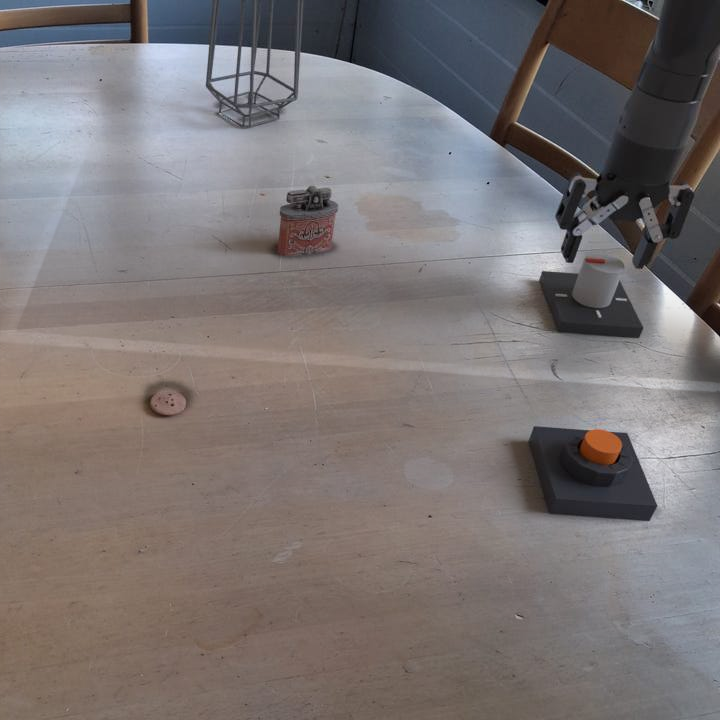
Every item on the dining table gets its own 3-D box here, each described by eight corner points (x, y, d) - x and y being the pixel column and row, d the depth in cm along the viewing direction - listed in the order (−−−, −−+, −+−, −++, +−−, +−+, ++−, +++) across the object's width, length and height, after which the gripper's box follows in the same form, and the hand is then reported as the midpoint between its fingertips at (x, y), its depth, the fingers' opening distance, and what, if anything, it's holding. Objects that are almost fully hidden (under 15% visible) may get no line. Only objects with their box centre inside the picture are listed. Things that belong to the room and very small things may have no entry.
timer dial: (605, 289, 116) (619, 251, 112) (614, 309, 112) (630, 271, 108) (567, 286, 115) (581, 249, 112) (576, 306, 112) (590, 269, 108)
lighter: (324, 248, 125) (334, 179, 118) (335, 260, 123) (345, 190, 116) (271, 256, 123) (277, 186, 116) (281, 268, 120) (288, 198, 114)
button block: (620, 448, 97) (633, 419, 95) (649, 521, 89) (664, 492, 87) (528, 441, 97) (538, 412, 94) (549, 514, 89) (561, 485, 86)
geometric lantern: (260, 94, 165) (276, -134, 141) (312, 125, 156) (339, -113, 132) (187, 109, 158) (190, -129, 134) (237, 143, 149) (251, -106, 125)
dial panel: (610, 296, 120) (618, 275, 118) (635, 348, 112) (644, 326, 109) (535, 290, 120) (542, 269, 118) (554, 342, 111) (562, 320, 109)
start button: (610, 443, 92) (616, 430, 91) (620, 467, 89) (626, 454, 88) (575, 440, 92) (581, 427, 91) (584, 464, 89) (589, 451, 88)
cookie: (152, 418, 96) (152, 411, 95) (147, 395, 99) (147, 388, 98) (188, 416, 97) (188, 408, 96) (183, 392, 100) (183, 385, 99)
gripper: (597, 140, 96) (551, 274, 107) (729, 151, 97) (669, 283, 108) (581, 112, 102) (538, 242, 113) (705, 123, 102) (651, 252, 113)
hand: (602, 262), depth 110 cm, fingers open, 8 cm apart
